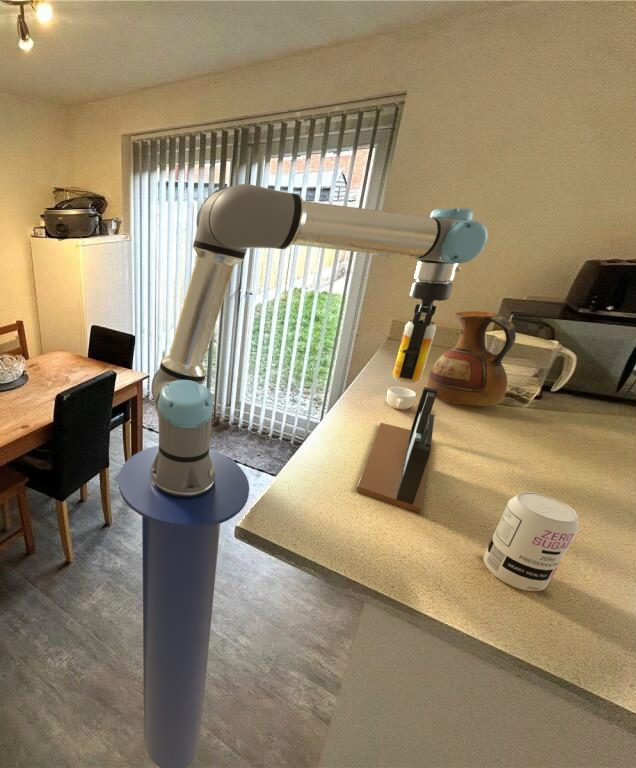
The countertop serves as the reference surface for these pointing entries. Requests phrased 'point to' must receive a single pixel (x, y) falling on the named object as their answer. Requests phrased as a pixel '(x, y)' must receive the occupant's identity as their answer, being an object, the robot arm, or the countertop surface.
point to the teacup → (400, 397)
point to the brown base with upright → (398, 463)
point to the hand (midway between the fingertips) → (406, 373)
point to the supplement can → (531, 540)
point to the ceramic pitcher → (473, 363)
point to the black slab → (420, 423)
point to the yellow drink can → (422, 355)
